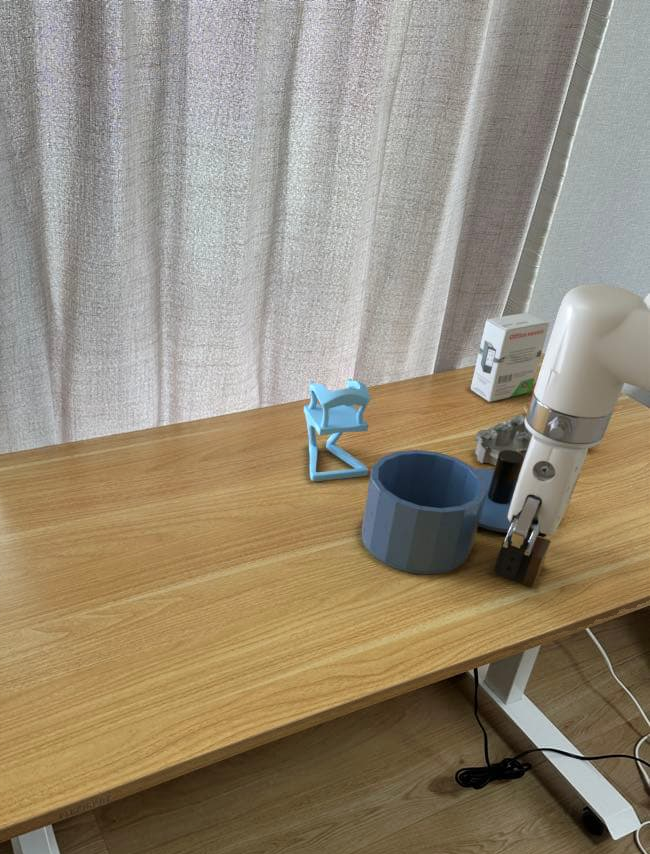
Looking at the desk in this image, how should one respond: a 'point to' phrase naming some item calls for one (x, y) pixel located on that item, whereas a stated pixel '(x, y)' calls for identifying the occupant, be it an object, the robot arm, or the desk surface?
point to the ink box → (509, 356)
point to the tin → (422, 511)
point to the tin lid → (500, 490)
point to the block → (536, 560)
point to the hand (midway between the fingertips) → (520, 553)
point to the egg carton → (502, 440)
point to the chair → (336, 424)
